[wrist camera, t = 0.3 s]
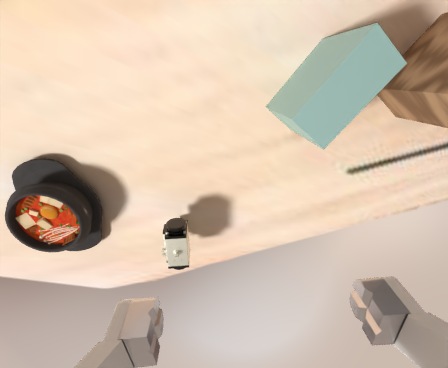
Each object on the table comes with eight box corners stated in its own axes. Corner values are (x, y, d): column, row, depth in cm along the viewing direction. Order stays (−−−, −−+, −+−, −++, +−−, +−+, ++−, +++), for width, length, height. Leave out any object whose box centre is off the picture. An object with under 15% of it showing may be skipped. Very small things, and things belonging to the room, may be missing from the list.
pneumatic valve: (188, 205, 62) (185, 233, 51) (190, 242, 66) (189, 275, 56) (166, 206, 61) (158, 235, 50) (170, 243, 66) (164, 277, 55)
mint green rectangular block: (290, 129, 56) (323, 149, 41) (265, 106, 53) (291, 119, 38) (346, 66, 51) (407, 63, 37) (322, 38, 49) (377, 22, 34)
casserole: (122, 236, 64) (111, 258, 56) (53, 253, 64) (34, 277, 56) (77, 147, 53) (57, 159, 46) (-5, 167, 53) (-38, 182, 46)
